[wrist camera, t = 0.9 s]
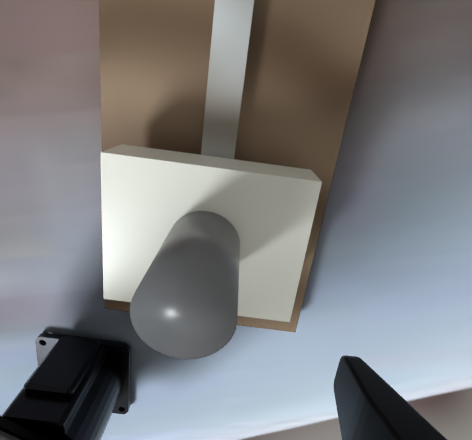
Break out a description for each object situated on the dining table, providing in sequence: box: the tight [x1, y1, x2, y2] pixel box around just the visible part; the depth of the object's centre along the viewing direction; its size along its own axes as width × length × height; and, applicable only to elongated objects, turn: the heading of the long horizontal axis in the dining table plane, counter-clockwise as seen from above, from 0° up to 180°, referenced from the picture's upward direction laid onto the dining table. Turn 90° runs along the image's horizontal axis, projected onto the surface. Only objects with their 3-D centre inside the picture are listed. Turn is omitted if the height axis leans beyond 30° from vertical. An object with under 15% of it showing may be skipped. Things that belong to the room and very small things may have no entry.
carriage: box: [101, 144, 322, 359], centre depth 13 cm, size 7×9×7 cm
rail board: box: [99, 0, 375, 332], centre depth 13 cm, size 30×12×8 cm, turn 173°
